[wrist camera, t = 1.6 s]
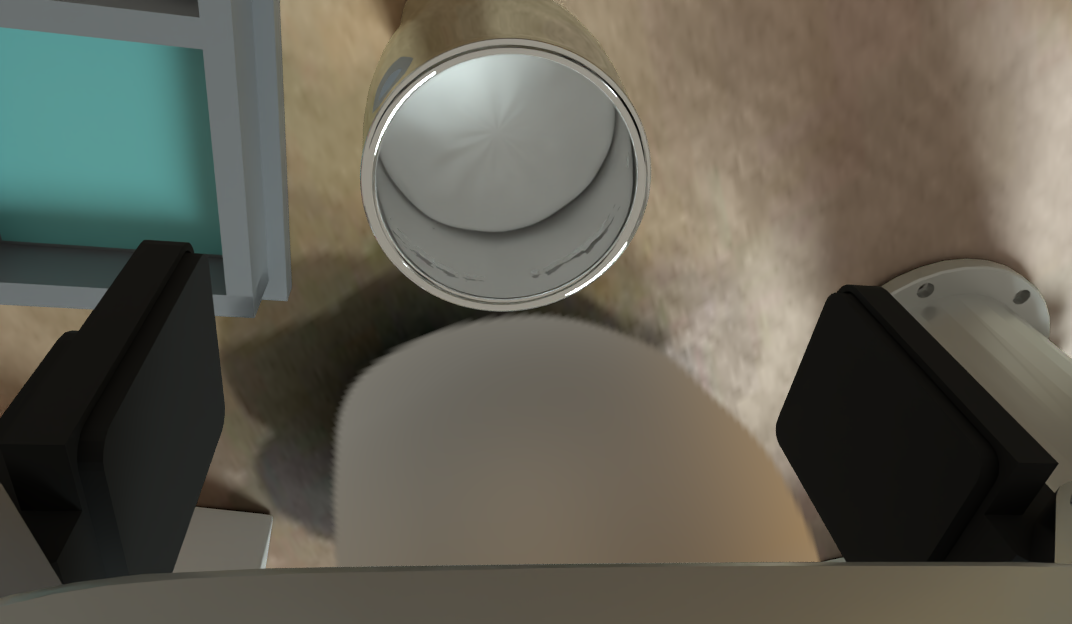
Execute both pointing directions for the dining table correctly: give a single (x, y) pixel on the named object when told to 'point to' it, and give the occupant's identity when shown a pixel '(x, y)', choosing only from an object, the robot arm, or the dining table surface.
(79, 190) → the gray divided sorting tray
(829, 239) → the dining table surface
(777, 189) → the dining table surface
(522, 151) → the silver metal cup
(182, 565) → the milk carton
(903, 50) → the dining table surface
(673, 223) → the dining table surface
